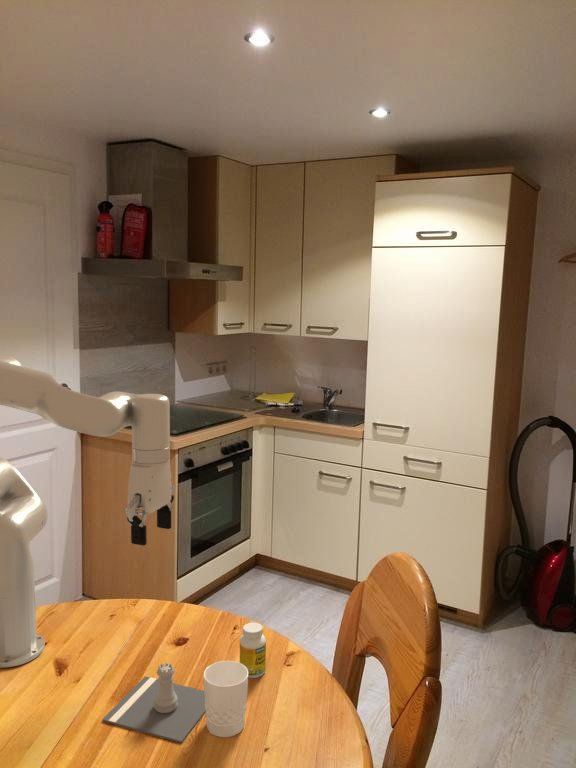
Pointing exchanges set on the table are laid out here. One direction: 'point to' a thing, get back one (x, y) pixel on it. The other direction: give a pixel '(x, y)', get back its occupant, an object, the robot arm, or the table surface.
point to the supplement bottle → (253, 649)
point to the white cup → (225, 697)
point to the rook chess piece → (165, 690)
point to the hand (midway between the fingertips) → (152, 535)
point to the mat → (144, 718)
